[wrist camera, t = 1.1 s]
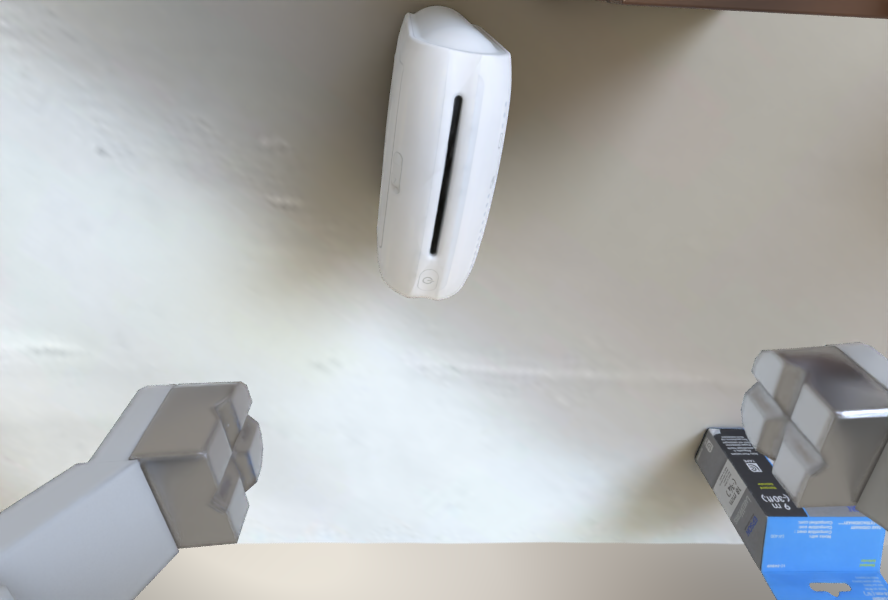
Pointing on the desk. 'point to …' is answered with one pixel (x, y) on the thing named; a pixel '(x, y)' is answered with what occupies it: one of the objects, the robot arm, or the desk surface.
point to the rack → (778, 6)
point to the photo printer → (440, 151)
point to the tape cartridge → (791, 526)
